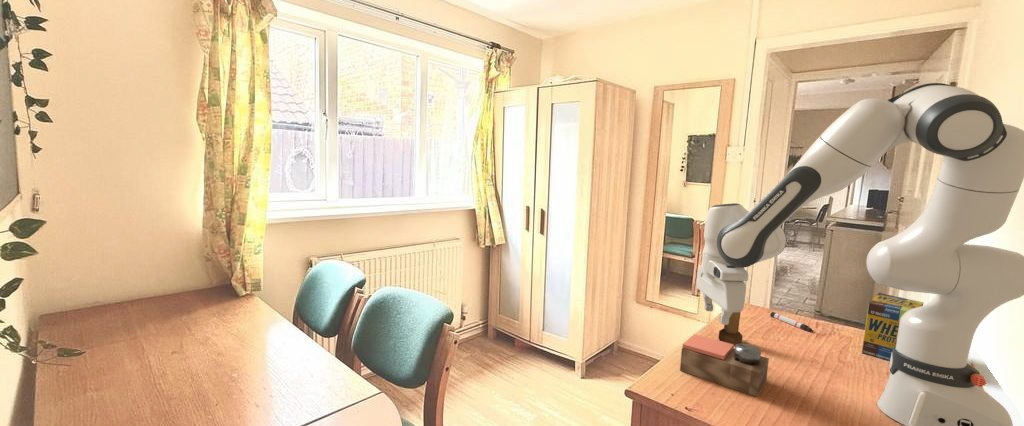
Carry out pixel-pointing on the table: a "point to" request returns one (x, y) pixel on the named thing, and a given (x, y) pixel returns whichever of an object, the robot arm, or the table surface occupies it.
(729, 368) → the block
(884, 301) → the protein box
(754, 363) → the grey domed cylinder
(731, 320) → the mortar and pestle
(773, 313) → the marker
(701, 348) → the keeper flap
